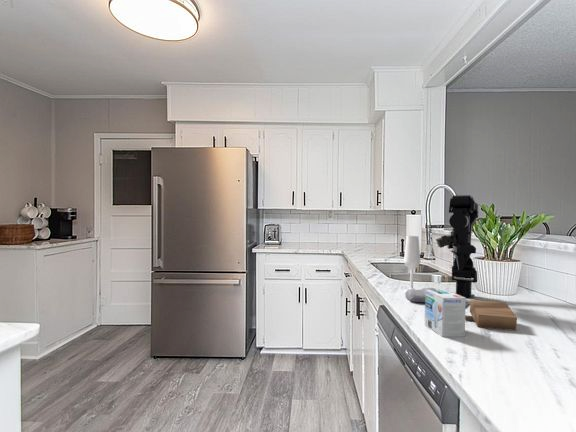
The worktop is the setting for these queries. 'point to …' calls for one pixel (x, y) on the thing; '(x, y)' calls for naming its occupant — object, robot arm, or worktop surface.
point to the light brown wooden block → (493, 315)
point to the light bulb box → (445, 313)
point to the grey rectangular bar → (469, 318)
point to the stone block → (417, 294)
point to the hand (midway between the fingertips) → (460, 270)
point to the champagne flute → (412, 256)
